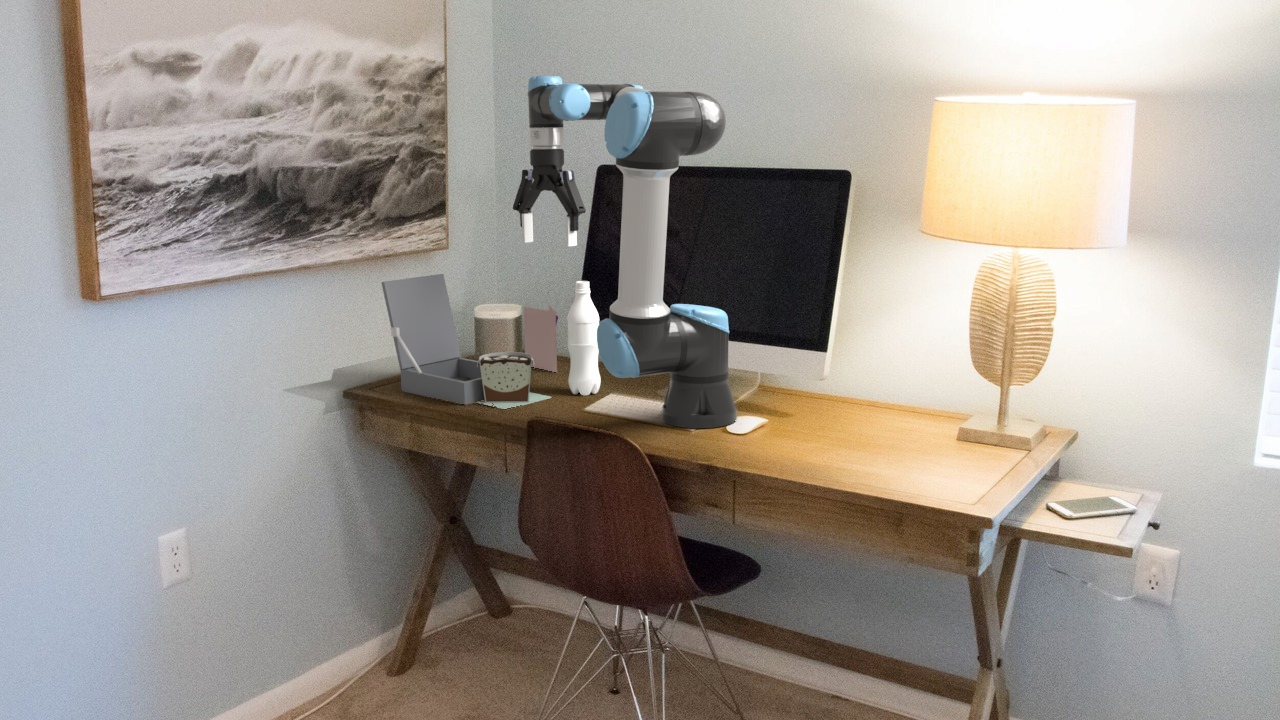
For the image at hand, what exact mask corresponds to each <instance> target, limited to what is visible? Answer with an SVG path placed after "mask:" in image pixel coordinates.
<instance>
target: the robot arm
mask: <svg viewBox="0 0 1280 720" xmlns="http://www.w3.org/2000/svg"><path fill="white" fill-rule="evenodd" d="M527 97H528V100H527V101H528V121H529V122H528V123H529V124H528V125H529V126H528V127H529V147H532V149H530V150H529V163H530V164H529V165H530V166H531V167H532V168H531V169H527V168H526V169H522V171H521V180H520V183H519V186H518V189H517V192H516V196H515V199H514V202H513V205H512V209H513V211H517V212H518V213H519V215H520V216H519V218H520V219H519V220H520V221H519V224H520V227H521V231H522V233H521V236H522V237H521V238H522V243H524V244H525V243H526V244H527V243H533V242H534V224H533V221H534V219H533V212H532V211H531V209H532V208H533V206H534V205H535V203H536V201H537V200H538V198H539V196H540V194H541V192H543V191H547V192H552V193H554V194H555V195H556V197H557V199H558V200H559V202H560V204H561V205H562V207H563V209H564V210H565V212H566V216H565V243H566V244H565V246H566V247H575V246H578V237H577V235H578V234H577V233H578V231H579V228H580V227H579V216H580V215H583V214H585V213H586V210H587V209H586V207H585V204H584V202H583V199H582V196H581V194H580V190H579V189H578V185H577V183H576V181H575V172H574V170H571V169H570V170H563V166H564V165H565V150H564V149H563V148H562V147H563V146H565V142H564V141H565V137H564V136H565V134H564V121H565V122H569V121H572V122H573V121H574V122H575V121H601V120H603V121H605V124H604V141H605V142H606V144H605V147H606V150H607V151H608V154H609V155H610V156H612V157H614V158H615V166H616V168H618V169H619V171H620V172H621V173H622V176H623V178H622V180H623V182H622V197H621V199H622V203H621V204H622V205H621V221H620V222H621V224H620V225H621V227H620V247H619V248H620V249H619V268H618V269H619V270H618V294H617V299H616V300H615V301H613V302H612V304H611V305H610V306H609V318H608V317H607V318H604V319H603V320H600V321H599V326H598V328H597V345H598V350H599V356H600V359H601V361H602V363H603V365H604V367H605V368H606V370H607V371H608V372H609V374H611V375H612V376H613V377H616V378H620V379H624V378H626V379H627V378H633V379H637V378H639V377H640V378H641V377H645V376H646V377H647V376H648V377H649V376H653V375H654V376H655V375H662V374H670V375H669V376H670V377H669V378H670V379H669V380H670V381H669V385H668V388H667V392H666V395H665V398H664V401H663V405H662V407H661V420H662V421H663V422H664V423H665V424H668V425H671V426H675V427H680V428H689V429H709V428H710V429H712V428H719V427H725V426H729V425H731V424H734V423H735V422H736V421H737V418H738V417H737V414H738V413H737V412H738V409H737V406H736V404H735V400H734V397H733V394H732V391H731V386H730V384H729V334H730V330H729V329H730V327H729V317H728V314H727V313H726V311H724V310H722V309H720V308H717V307H713V306H707V305H705V306H704V305H697V304H689V303H685V304H684V303H674V304H673V303H672V304H671V305H670V307H669V306H668V304H666V303H665V302H664V299H663V298H664V285H665V267H666V249H667V248H666V247H667V236H668V235H667V233H668V231H667V230H668V215H669V195H670V179H671V176H672V175H673V174H674V173H675V172H677V171H678V169H679V166H680V165H679V164H680V157H682V156H683V157H684V156H685V157H686V156H696V155H700V154H701V155H702V154H703V153H706V152H708V151H710V150H711V149H713V148H714V147H715V146H716V145H718V143H719V142H720V141H721V139H722V137H723V136H724V133H725V130H726V124H727V123H726V122H727V121H726V115H725V111H724V108H723V106H722V105H721V104H720V102H719V101H718V100H717V99H715V98H714V97H712V96H711V95H709V94H707V93H703V92H699V91H662V90H661V91H655V90H650V89H645V88H644V87H643V86H642V85H639V84H632V83H622V84H611V83H610V84H599V83H598V84H597V83H596V84H595V83H593V84H592V83H574V82H564V83H563V79H562V78H561V77H560V76H558V75H533V76H531V77H529V78H528V85H527ZM735 420H736V421H735ZM734 421H735V422H734Z"/></svg>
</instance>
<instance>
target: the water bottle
mask: <svg viewBox="0 0 1280 720" xmlns="http://www.w3.org/2000/svg"><path fill="white" fill-rule="evenodd" d="M574 290H575V291H574V293H575V297H574V301H573V303H572V305H571V307H570V309H569V311H568V314H567V319H566V322H567V349H568V352H569V359H570V360H569V361H570V366H569V367H570V368H569V369H570V370H569V375H568V379H567V380H568V386H569V390H570V391H571V393H572V394H573V395H578V393H580V394H579V395H581V396H584V397H585V396H589V395H590V394H594V395H597V393H598V392H599V390H600V387H601V383H602V380H601V378H602V377H601V374H600V370H599V355H600V353H599V350H598V345H597V328H598V326H599V323H600V321H601V320H600V316H599V312H598V310H597V308H596V306H595V305H594V302H593V300H592V298H591V288H590V281H588V280H578V281H575V289H574Z"/></svg>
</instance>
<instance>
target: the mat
mask: <svg viewBox="0 0 1280 720" xmlns="http://www.w3.org/2000/svg"><path fill="white" fill-rule="evenodd" d="M548 399H552V396H550V395H545V394H541V393H537V392H536V393H535V392H531V391H529V403H493V404H494V405H493V404H492V403H485V400H484V401H480V402H475V403H474V404H476V403H480V404H481V403H483V404H484V405H488V406H492V405H493V407H494V406H496V407H497V408H501V409H507V408H511V407H515V408H517V407H516V406H519V407H521V406H520V405H522V406H525V405H530V404H533V403H537V402H541V401H542V402H543V401H546V400H548ZM511 409H512V408H511ZM507 410H508V409H507Z"/></svg>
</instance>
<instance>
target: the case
mask: <svg viewBox="0 0 1280 720" xmlns="http://www.w3.org/2000/svg"><path fill="white" fill-rule="evenodd" d="M380 283H381V287H382V293H383V296H384V300H385V305H386V310H387V315H388V319H389V323H390V336H391V337H392V338H393V341H394V342H393V343H394V347H395V352H396V357H397V361H398V365H399V369H400V385H401V386H400V387H401V392H404V393H409V394H413V395H418V396H422V397H426V398H430V397H431V398H430V399H434V398H436V399H435V400H438V399H442V400H441V401H443V400H448V401H453V402H458V403H462V404H469V403H473V402H477V401H481V400H485V398H484V391H483V384H482V377H481V370H480V365H479V366H478V367H477V363H478V360H475V359H468V358H466V357H465V358H463V357H462V355H461V349H460V344H459V341H458V340H459V339H458V336H457V331H456V328H455V327H456V326H455V322H454V321H455V320H454V318H453V312H452V308H451V303H450V299H449V294H448V288H447V283H446V280H445V276H444V273H441V274H440V273H439V274H432V275H424V276H423V275H422V276H417V277H416V276H415V277H409V278H402V279H400V278H399V279H394V280H393V279H392V280H386V281H382V282H380Z"/></svg>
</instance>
